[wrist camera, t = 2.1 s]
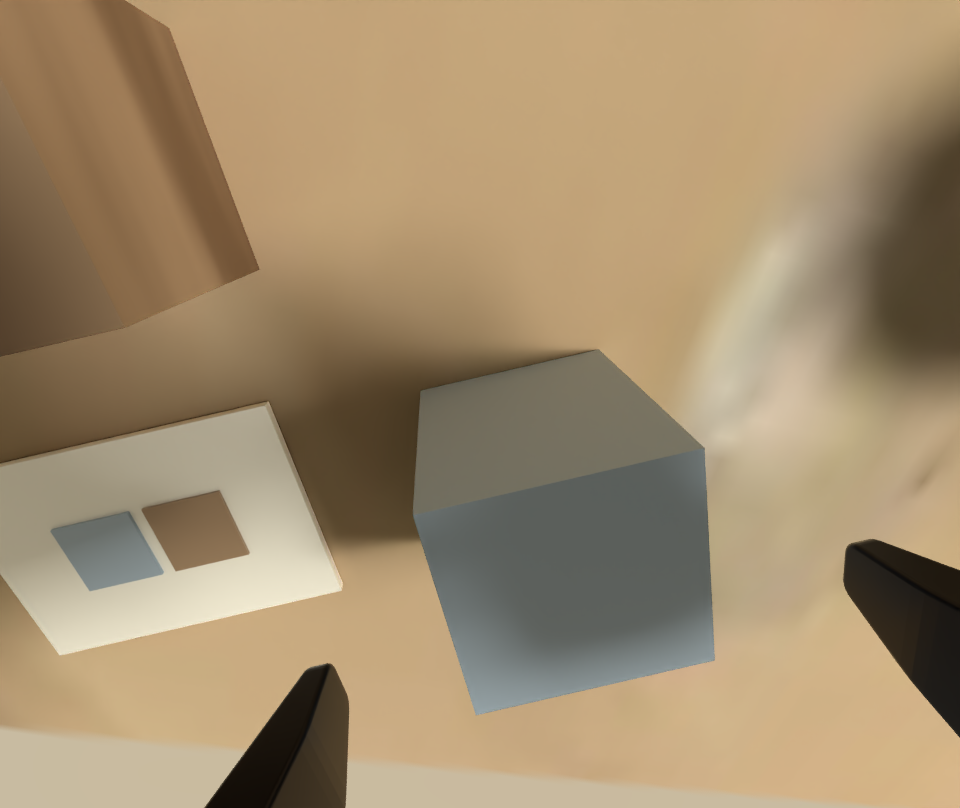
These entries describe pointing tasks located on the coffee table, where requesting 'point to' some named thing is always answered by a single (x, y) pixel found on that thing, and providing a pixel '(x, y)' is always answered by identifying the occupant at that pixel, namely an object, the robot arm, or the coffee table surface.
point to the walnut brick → (103, 175)
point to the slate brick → (562, 530)
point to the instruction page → (160, 530)
